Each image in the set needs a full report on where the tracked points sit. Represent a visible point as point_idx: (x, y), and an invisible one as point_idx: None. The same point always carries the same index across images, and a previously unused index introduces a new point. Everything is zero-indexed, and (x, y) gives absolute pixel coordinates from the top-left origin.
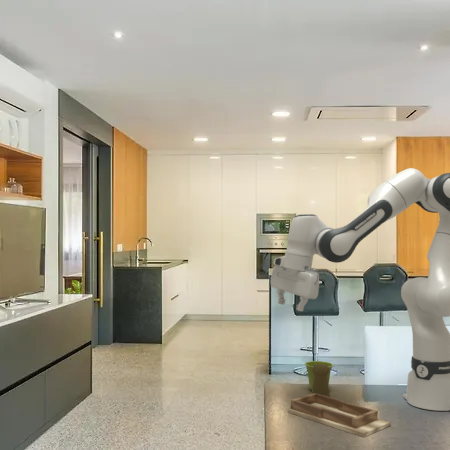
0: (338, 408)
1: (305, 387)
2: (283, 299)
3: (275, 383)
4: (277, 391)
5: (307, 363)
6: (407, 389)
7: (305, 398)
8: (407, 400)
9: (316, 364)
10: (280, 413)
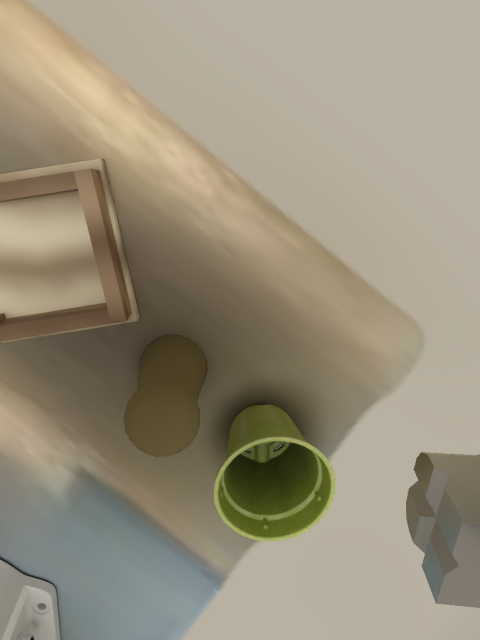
0: (10, 318)
1: (308, 410)
2: (448, 564)
3: (412, 352)
4: (329, 294)
5: (326, 468)
6: (10, 606)
7: (93, 247)
8: (7, 567)
9: (174, 417)
10: (108, 126)
